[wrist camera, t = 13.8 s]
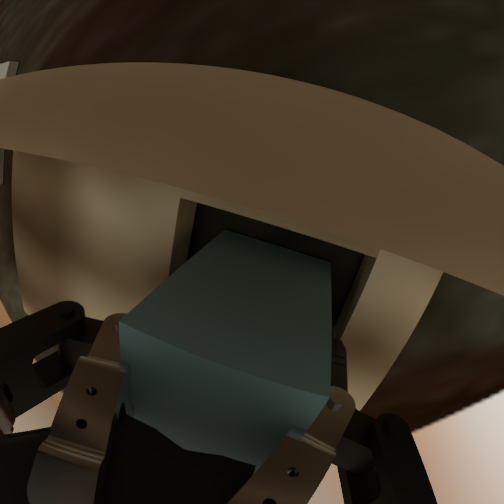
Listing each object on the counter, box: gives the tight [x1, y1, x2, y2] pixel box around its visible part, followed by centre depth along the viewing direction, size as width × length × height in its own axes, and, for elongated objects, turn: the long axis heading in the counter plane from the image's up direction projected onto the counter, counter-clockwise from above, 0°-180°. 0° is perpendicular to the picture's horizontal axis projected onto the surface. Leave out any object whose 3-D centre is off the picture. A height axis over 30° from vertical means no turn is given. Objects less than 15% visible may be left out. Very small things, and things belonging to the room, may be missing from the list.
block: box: [119, 230, 332, 473], centre depth 11 cm, size 5×5×8 cm
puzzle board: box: [0, 62, 504, 411], centre depth 11 cm, size 16×24×8 cm, turn 76°
